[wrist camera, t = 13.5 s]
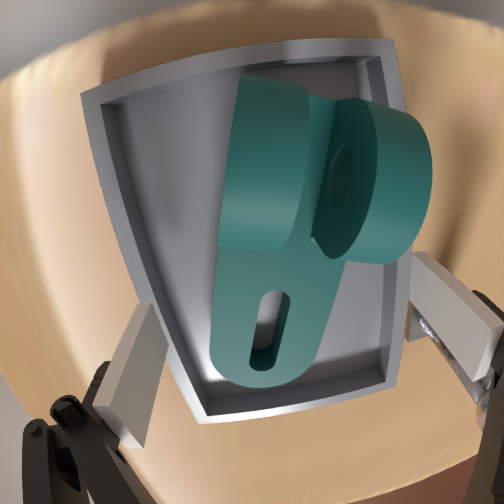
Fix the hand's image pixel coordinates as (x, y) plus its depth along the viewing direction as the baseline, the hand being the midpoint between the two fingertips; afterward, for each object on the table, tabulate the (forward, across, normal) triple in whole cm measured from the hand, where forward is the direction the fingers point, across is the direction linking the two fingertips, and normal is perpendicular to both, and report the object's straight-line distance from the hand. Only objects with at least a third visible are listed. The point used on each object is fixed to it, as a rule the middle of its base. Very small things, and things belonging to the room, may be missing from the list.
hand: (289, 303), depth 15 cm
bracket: (+4, 0, +1) cm, 5 cm away
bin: (+5, 0, 0) cm, 5 cm away
